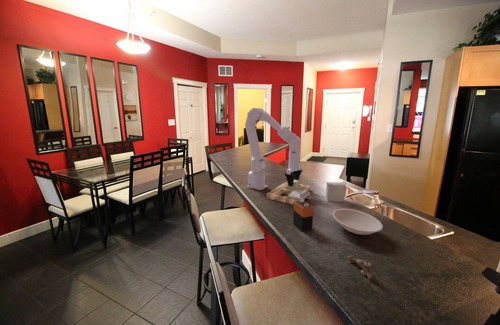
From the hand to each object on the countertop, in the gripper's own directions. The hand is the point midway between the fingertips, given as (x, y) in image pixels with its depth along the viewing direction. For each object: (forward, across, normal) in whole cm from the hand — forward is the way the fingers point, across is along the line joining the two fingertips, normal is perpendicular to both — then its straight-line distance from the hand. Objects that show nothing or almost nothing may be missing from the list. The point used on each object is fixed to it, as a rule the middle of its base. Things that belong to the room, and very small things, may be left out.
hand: (293, 184), depth 119 cm
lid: (+1, -11, -8) cm, 13 cm away
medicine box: (+4, -1, -22) cm, 22 cm away
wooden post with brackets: (+4, -47, -40) cm, 62 cm away
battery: (+4, -34, -18) cm, 38 cm away
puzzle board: (+4, -5, -2) cm, 7 cm away
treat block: (+4, 0, 0) cm, 4 cm away
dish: (+4, -27, -35) cm, 44 cm away
